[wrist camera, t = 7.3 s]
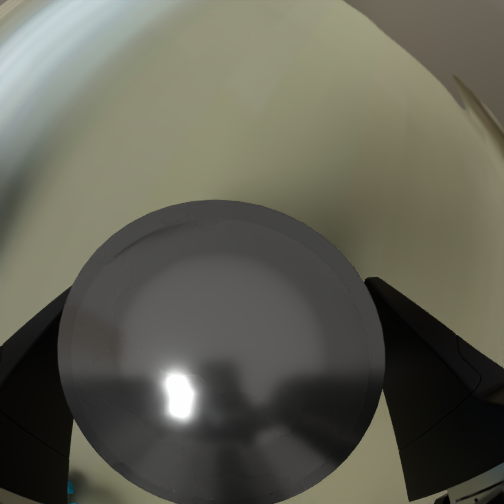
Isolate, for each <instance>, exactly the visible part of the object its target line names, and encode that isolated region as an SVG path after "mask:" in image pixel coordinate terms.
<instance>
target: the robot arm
mask: <svg viewBox="0 0 504 504" xmlns="http://www.w3.org/2000/svg"><path fill="white" fill-rule="evenodd" d="M364 284H365V285H366V287H367V289H368V291H369V293H370V296H371V298H372V300H373V302H374V304H375V307H376V310H377V313H378V316H379V320H380V323H381V326H382V332H383V338H384V345H385V373H384V381H383V392H384V395H385V399H386V402H387V406H388V410H389V413H390V417H391V421H392V425H393V429H394V433H395V437H396V441H397V445H398V450H399V455H400V459H401V464H402V469H403V474H404V479H405V484H406V490H407V495H408V500H409V502H411V501H414V500H418V499H421V498H424V497H427V496H430V495H433V494H436V493H439V492H441V491H444V490H447V492H448V493H447V494H445V495H443V496H441V497H439V498H438V499H436V501H435V503H434V504H504V368H502V367H501V366H499V365H498V364H497V363H495V362H494V361H492V360H491V359H489V358H488V357H486V356H485V355H484V354H482V353H481V352H479V351H478V350H476V349H475V348H474V347H472V346H471V345H470V344H468V343H467V342H466V341H464V340H463V339H462V338H461V337H459V336H458V335H456V334H455V333H454V332H453V331H452V330H450V329H449V328H448V327H446V326H445V325H444V324H442V323H441V322H440V321H438V320H437V319H436V318H434V317H433V316H432V315H430V314H429V313H428V312H426V311H425V310H424V309H422V308H421V307H420V306H418V305H417V304H415V303H414V302H413V301H411V300H410V299H409V298H407V297H406V296H404V295H403V294H402V293H400V292H399V291H397V290H396V289H395V288H393V287H392V286H390V285H389V284H388V283H386V282H385V281H383V280H382V279H380V278H379V277H368V278H366V279H365V281H364ZM71 288H72V286H71V287H69V288H68V289H67V290H66V291H64V292H63V293H62V294H61V295H59V296H58V297H57V298H56V299H54V300H53V301H52V302H51V303H49V304H48V305H47V306H46V307H45V308H43V309H42V310H41V311H40V312H39V313H37V314H36V315H35V316H34V317H33V318H32V319H30V320H29V321H28V322H27V323H26V324H25V325H24V326H22V327H21V328H20V329H19V330H18V331H17V332H16V333H15V334H13V335H12V336H11V337H10V338H9V339H8V340H7V341H6V342H5V343H4V344H3V346H0V504H41V503H42V504H68V472H69V455H70V444H71V435H72V427H73V420H74V417H73V415H72V413H71V411H70V408H69V406H68V404H67V401H66V398H65V394H64V391H63V388H62V384H61V379H60V373H59V366H58V335H59V326H60V321H61V317H62V313H63V309H64V305H65V302H66V300H67V297H68V295H69V292H70V290H71Z"/></svg>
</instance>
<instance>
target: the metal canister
mask: <svg viewBox="0 0 504 504" xmlns="http://www.w3.org/2000/svg"><path fill="white" fill-rule="evenodd" d="M58 366H59V373H60V379H61V384H62V388H63V391H64V394H65V398H66V401H67V404H68V406H69V408H70V411H71V413H72V415H73V417H74V419H75V421H76V423H77V425H78V426H79V428H80V430H81V431H82V433H83V435H84V436H85V438H86V439H87V441H88V442H89V443H90V444H91V446H92V447H93V448H94V449H95V451H96V452H97V453H98V454H99V455H100V456H101V457H102V458H103V459H104V460H105V461H106V462H107V463H108V464H109V465H110V466H111V467H112V468H113V469H114V470H115V471H117V472H118V473H119V474H121V475H122V476H123V477H124V478H126V479H127V480H128V481H130V482H132V483H133V484H135V485H137V486H138V487H140V488H142V489H143V490H145V491H147V492H149V493H151V494H153V495H156V496H158V497H160V498H162V499H165V500H168V501H171V502H174V503H177V504H274V503H278V502H281V501H284V500H286V499H289V498H291V497H293V496H296V495H298V494H300V493H302V492H304V491H306V490H307V489H309V488H311V487H313V486H314V485H316V484H318V483H319V482H320V481H322V480H323V479H324V478H326V477H327V476H328V475H330V474H331V473H332V472H333V471H334V470H335V469H337V468H338V467H339V466H340V465H341V464H342V463H343V462H344V461H345V460H346V459H347V458H348V456H349V455H350V454H351V453H352V451H353V450H354V449H355V448H356V446H357V445H358V444H359V442H360V441H361V439H362V437H363V436H364V434H365V432H366V431H367V429H368V427H369V425H370V423H371V421H372V419H373V416H374V414H375V412H376V409H377V407H378V403H379V399H380V396H381V392H382V388H383V381H384V373H385V345H384V338H383V332H382V326H381V323H380V320H379V316H378V313H377V310H376V307H375V304H374V302H373V300H372V298H371V296H370V293H369V291H368V289H367V287H366V285H365V284H364V282H363V281H362V279H361V278H360V276H359V274H358V273H357V271H356V270H355V268H354V267H353V266H352V265H351V264H350V262H349V261H348V260H347V259H346V258H345V257H344V255H343V254H342V253H341V252H340V251H339V250H338V249H337V248H336V247H335V246H333V245H332V244H331V243H330V242H329V241H328V240H327V239H325V238H324V237H323V236H322V235H320V234H319V233H317V232H316V231H314V230H313V229H311V228H310V227H308V226H307V225H305V224H304V223H302V222H300V221H298V220H296V219H294V218H292V217H290V216H288V215H286V214H284V213H281V212H278V211H275V210H272V209H269V208H266V207H263V206H260V205H255V204H250V203H245V202H240V201H228V200H204V201H191V202H186V203H182V204H177V205H172V206H168V207H165V208H163V209H160V210H157V211H154V212H151V213H149V214H147V215H145V216H143V217H141V218H139V219H137V220H135V221H133V222H131V223H129V224H128V225H126V226H125V227H124V228H122V229H121V230H119V231H118V232H117V233H115V234H114V235H112V236H111V237H110V238H109V239H108V240H107V241H106V242H105V243H104V244H103V245H102V246H100V247H99V248H98V249H97V250H96V251H95V253H94V254H93V255H92V256H91V258H90V259H89V260H88V261H87V263H86V264H85V265H84V267H83V268H82V270H81V271H80V273H79V275H78V276H77V278H76V280H75V282H74V283H73V285H72V288H71V290H70V292H69V295H68V297H67V300H66V302H65V305H64V309H63V313H62V317H61V321H60V326H59V335H58Z"/></svg>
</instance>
